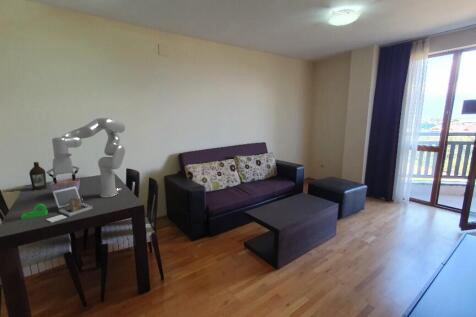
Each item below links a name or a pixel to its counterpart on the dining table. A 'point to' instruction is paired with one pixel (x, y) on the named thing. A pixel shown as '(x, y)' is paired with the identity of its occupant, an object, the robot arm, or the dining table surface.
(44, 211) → the mechanical part
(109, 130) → the robot arm
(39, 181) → the olive oil
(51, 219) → the mat
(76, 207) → the block
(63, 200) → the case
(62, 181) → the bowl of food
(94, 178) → the dining table surface
